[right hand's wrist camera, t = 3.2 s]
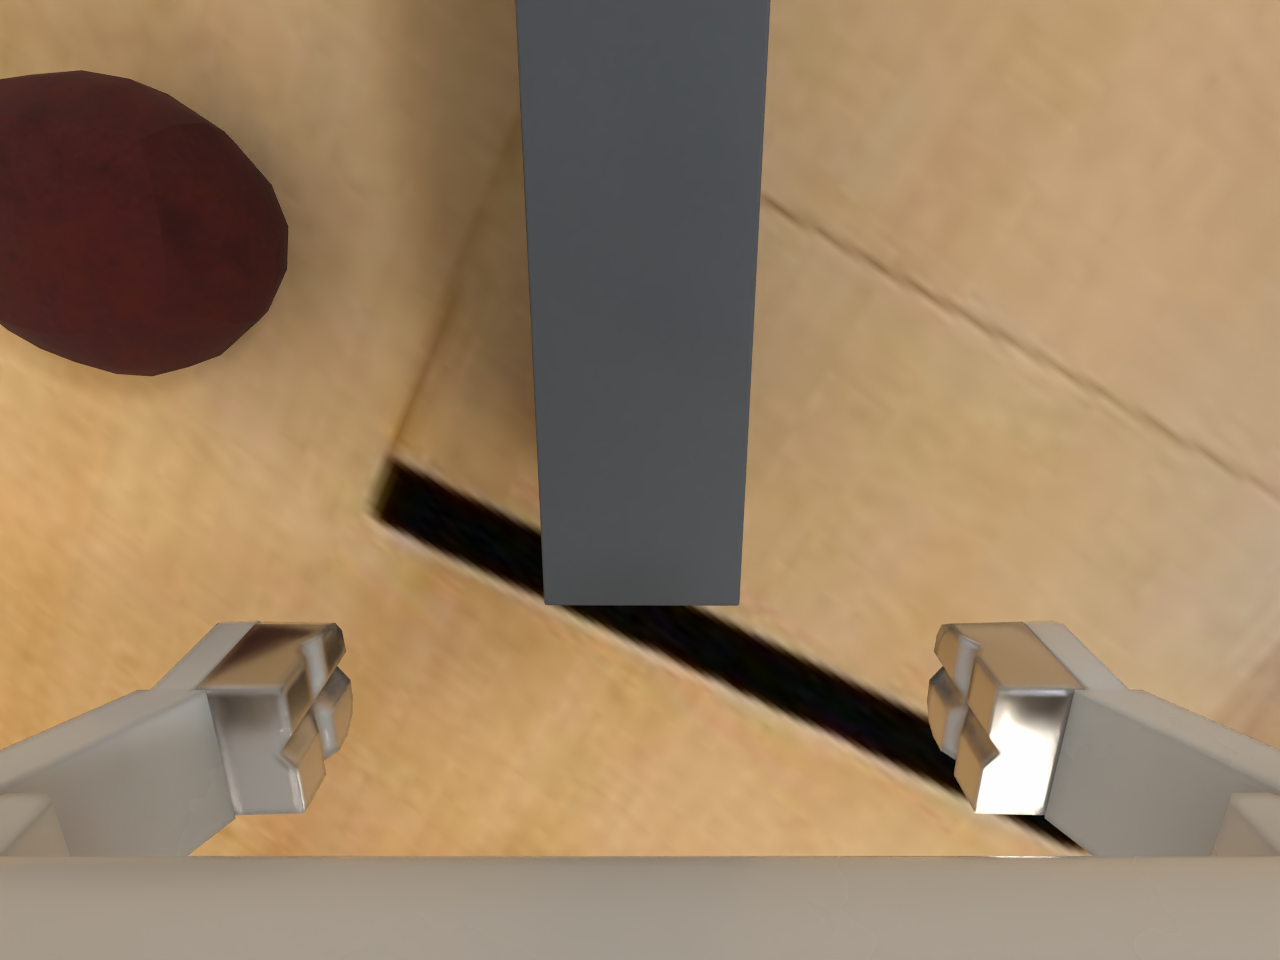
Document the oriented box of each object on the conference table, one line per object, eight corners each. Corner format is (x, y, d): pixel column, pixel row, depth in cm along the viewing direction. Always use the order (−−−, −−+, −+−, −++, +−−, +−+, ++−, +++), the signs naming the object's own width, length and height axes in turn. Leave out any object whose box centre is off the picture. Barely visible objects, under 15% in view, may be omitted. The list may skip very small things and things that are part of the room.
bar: (711, 489, 26) (739, 606, 18) (573, 489, 26) (544, 605, 18) (751, -642, 17) (839, -1328, 9) (537, -641, 17) (450, -1325, 9)
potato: (36, 96, 22) (-232, 49, 15) (305, 90, 22) (156, 40, 15) (103, 352, 24) (-100, 409, 18) (345, 347, 24) (233, 402, 18)
